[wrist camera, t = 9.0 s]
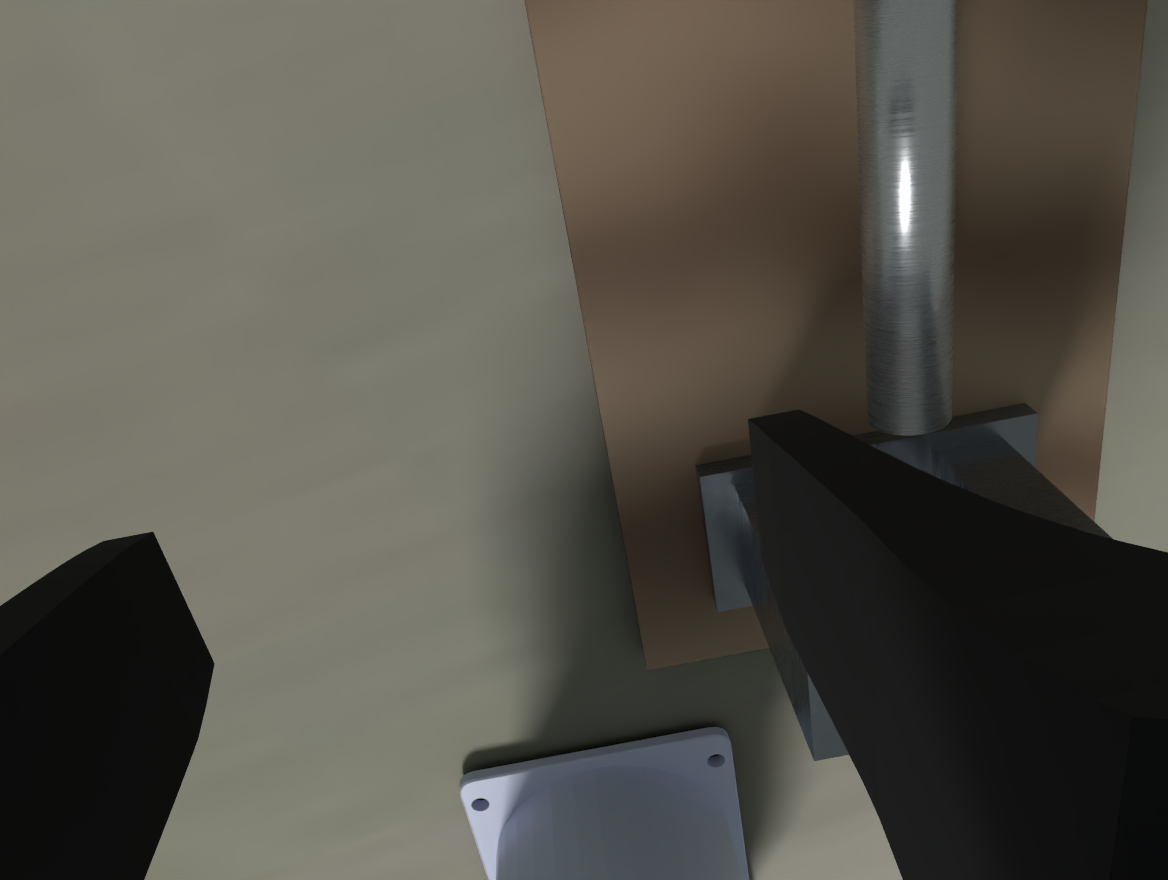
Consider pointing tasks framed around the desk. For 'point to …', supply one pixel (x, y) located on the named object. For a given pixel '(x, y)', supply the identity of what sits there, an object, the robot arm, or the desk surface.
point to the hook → (907, 208)
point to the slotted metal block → (954, 454)
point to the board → (819, 243)
